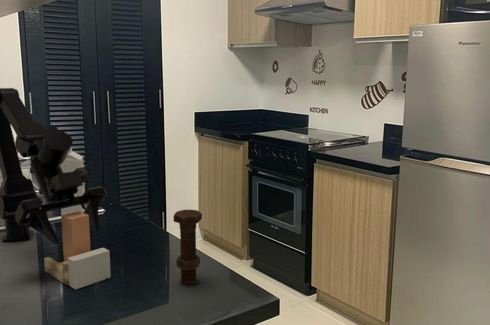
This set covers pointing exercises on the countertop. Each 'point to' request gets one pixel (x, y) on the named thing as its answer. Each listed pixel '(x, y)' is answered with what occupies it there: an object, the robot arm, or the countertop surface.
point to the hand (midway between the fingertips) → (78, 237)
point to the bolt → (188, 244)
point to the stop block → (89, 268)
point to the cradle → (57, 269)
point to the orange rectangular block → (75, 234)
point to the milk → (70, 165)
